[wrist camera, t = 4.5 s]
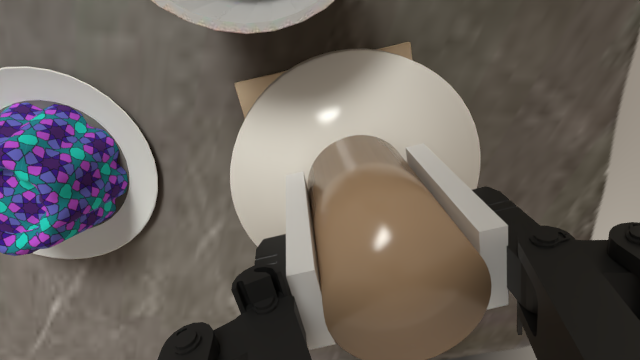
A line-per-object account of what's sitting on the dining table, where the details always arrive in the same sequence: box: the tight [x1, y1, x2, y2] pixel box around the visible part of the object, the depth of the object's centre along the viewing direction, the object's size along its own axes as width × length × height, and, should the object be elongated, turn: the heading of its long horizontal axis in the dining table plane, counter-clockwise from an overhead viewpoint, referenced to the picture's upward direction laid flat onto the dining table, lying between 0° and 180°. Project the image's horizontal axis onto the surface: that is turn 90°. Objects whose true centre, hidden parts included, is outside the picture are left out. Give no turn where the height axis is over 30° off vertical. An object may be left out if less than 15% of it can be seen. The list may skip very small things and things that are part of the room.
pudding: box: [0, 67, 158, 259], centre depth 20 cm, size 12×12×5 cm
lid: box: [230, 48, 491, 360], centre depth 14 cm, size 11×11×9 cm
